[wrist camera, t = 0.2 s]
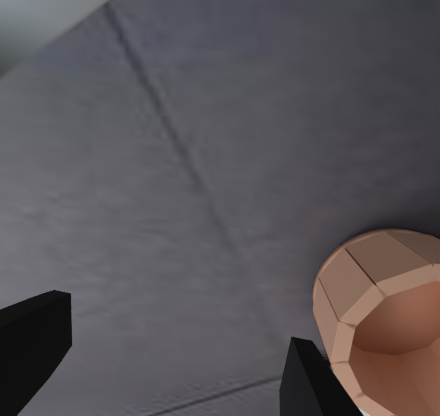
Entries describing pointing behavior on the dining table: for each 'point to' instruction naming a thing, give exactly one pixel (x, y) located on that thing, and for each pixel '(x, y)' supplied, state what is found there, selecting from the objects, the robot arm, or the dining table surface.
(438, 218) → the dining table surface
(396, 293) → the bowl
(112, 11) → the dining table surface
